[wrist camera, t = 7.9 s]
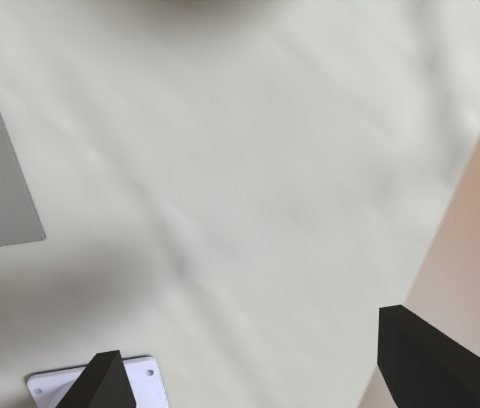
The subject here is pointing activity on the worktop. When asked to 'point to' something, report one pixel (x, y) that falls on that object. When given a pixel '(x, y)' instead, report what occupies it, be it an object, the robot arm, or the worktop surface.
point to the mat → (15, 199)
